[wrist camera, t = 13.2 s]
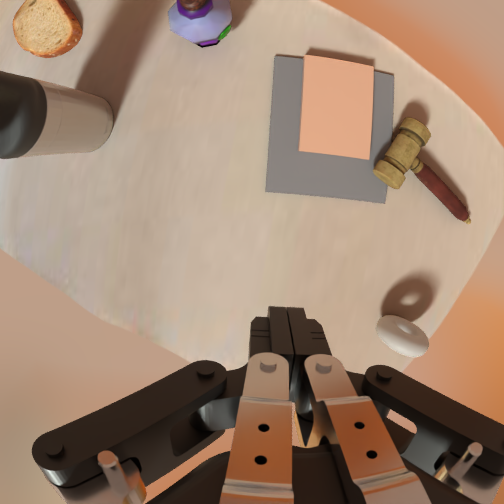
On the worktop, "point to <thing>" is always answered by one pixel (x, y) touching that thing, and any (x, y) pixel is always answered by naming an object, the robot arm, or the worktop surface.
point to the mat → (315, 164)
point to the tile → (336, 107)
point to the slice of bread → (46, 27)
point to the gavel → (416, 166)
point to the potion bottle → (201, 20)
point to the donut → (402, 336)
